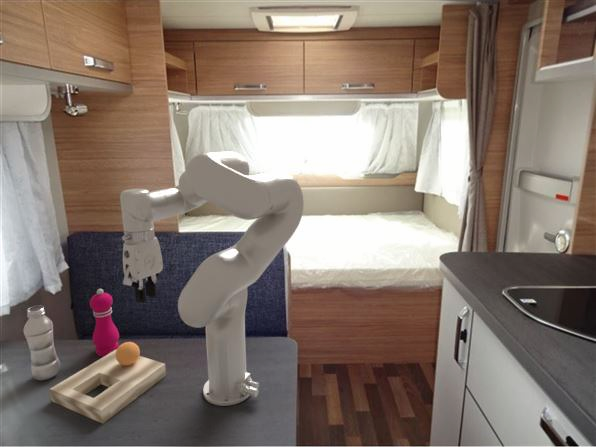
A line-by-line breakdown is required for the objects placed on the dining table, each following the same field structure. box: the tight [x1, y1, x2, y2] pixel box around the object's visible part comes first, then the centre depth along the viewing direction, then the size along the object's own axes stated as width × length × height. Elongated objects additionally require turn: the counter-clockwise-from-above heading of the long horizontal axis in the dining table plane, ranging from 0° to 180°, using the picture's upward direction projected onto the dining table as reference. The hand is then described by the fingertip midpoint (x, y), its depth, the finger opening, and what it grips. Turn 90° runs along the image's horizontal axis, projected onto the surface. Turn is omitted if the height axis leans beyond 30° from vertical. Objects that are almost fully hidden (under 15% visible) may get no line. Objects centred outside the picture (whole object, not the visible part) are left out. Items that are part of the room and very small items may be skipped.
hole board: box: [49, 349, 167, 424], centre depth 102 cm, size 18×20×4 cm
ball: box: [116, 341, 141, 365], centre depth 106 cm, size 6×6×6 cm
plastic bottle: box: [22, 304, 61, 381], centre depth 105 cm, size 6×7×20 cm
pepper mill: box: [89, 288, 120, 357], centre depth 118 cm, size 7×7×20 cm
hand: (146, 298), depth 110 cm, fingers open, 3 cm apart
